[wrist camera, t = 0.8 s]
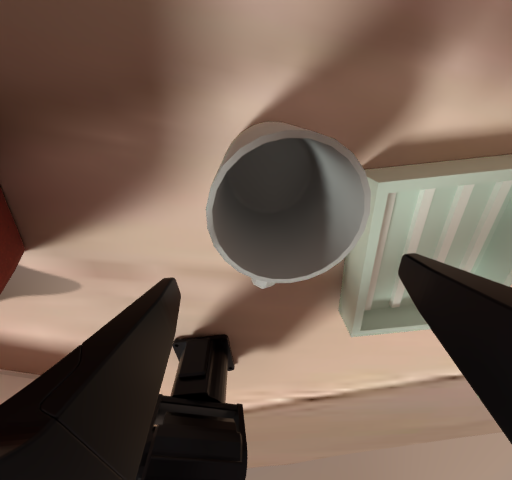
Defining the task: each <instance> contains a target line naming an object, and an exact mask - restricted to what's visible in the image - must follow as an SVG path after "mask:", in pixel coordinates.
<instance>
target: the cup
mask: <svg viewBox="0 0 512 480" xmlns="http://www.w3.org/2000/svg"><path fill="white" fill-rule="evenodd" d="M370 201H371V190H370V187H369V183H368V180H367V176H366V172H365V170H364V169H363V167H362V166H361V164H360V163H359V161H358V160H357V158H356V157H355V155H354V154H353V153H352V152H351V151H350V150H349V149H347V148H346V147H345V146H343V145H342V144H341V143H339V142H338V141H337V140H336V139H333V138H331V137H328V136H325V135H322V134H320V133H317V132H314V131H311V130H308V129H304V128H301V127H297V126H294V125H290V124H287V123H283V122H270V121H267V122H263V123H259V124H255V125H253V126H251V127H249V128H248V129H246V130H244V131H243V132H241V133H240V134H239V135H238V136H237V137H236V138H235V139H234V140H233V141H232V143H231V144H230V146H229V148H228V150H227V152H226V154H225V156H224V158H223V160H222V163H221V165H220V167H219V169H218V172H217V174H216V176H215V178H214V181H213V183H212V185H211V188H210V192H209V197H208V201H207V206H206V216H207V229H208V231H209V234H210V237H211V239H212V242H213V245H214V247H215V248H216V249H217V251H218V252H219V253H220V255H221V256H222V258H223V259H224V260H225V261H226V262H227V263H228V264H230V265H231V266H232V267H233V268H234V269H236V270H237V271H238V272H240V273H242V274H244V275H247V276H249V277H251V279H252V282H253V284H254V285H255V286H257V287H259V288H261V289H264V288H267V287H270V286H273V285H275V283H293V282H298V281H303V280H307V279H310V278H312V277H315V276H317V275H320V274H322V273H324V272H326V271H328V270H329V269H331V268H332V267H333V266H335V265H336V264H338V263H339V262H341V261H342V260H343V259H344V258H345V257H346V256H347V255H348V253H349V252H350V251H351V250H352V249H353V248H354V247H355V245H356V244H357V242H358V240H359V239H360V237H361V235H362V234H363V232H364V230H365V227H366V224H367V220H368V217H369V214H370Z"/></svg>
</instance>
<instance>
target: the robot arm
mask: <svg viewBox="0 0 512 480" xmlns="http://www.w3.org/2000/svg"><path fill="white" fill-rule="evenodd" d="M398 275H399V278H400V280H401V281H402V283H403V285H404V287H405V288H406V290H407V292H408V294H409V296H410V297H411V299H412V301H413V303H414V305H415V306H416V308H417V310H418V311H419V313H420V314H421V316H422V317H423V319H424V320H425V321H426V323H427V324H428V326H429V327H430V328H431V330H432V331H433V333H434V334H435V336H436V337H437V338H438V340H439V341H440V343H441V344H442V346H443V347H444V348H445V350H446V351H447V353H448V354H449V356H450V357H451V358H452V360H453V361H454V363H455V364H456V366H457V367H458V368H459V370H460V371H461V373H462V374H463V375H464V377H465V378H466V380H467V381H468V383H469V384H470V385H471V387H472V388H473V390H474V391H475V393H476V394H477V395H478V397H479V398H480V400H481V401H482V403H483V404H484V405H485V407H486V408H487V410H488V411H489V413H490V414H491V415H492V417H493V418H494V420H495V421H496V423H497V424H498V425H499V427H500V428H501V430H502V431H503V432H504V434H505V435H506V437H507V438H508V440H509V441H510V442H511V444H512V287H509V286H506V285H503V284H500V283H498V282H495V281H492V280H489V279H486V278H484V277H481V276H478V275H475V274H473V273H470V272H467V271H464V270H461V269H459V268H456V267H453V266H450V265H447V264H445V263H442V262H439V261H436V260H433V259H431V258H428V257H425V256H422V255H419V254H417V253H409V254H404V255H403V256H402V258H401V262H400V266H399V269H398ZM180 300H181V294H180V291H179V288H178V285H177V282H176V280H175V278H173V277H172V278H164V279H162V280H161V281H160V282H158V283H157V284H156V285H155V286H153V287H152V288H151V289H150V290H148V291H147V292H146V293H145V294H143V295H142V296H141V297H140V298H138V299H137V300H136V301H135V302H133V303H132V304H131V305H130V306H128V307H127V308H126V309H125V310H123V311H122V312H121V313H120V314H118V315H117V316H116V317H115V318H113V319H112V320H111V321H110V322H108V323H107V324H106V325H105V326H103V327H102V328H101V329H100V330H98V331H97V332H96V333H95V334H93V335H92V336H91V337H90V338H88V339H87V340H86V341H85V342H83V343H82V345H79V346H78V347H77V348H76V349H74V350H73V351H72V352H71V353H69V354H68V355H67V356H66V357H64V358H63V359H62V360H60V361H59V362H58V363H57V364H55V365H54V366H53V367H51V368H50V369H49V370H47V371H46V372H45V373H43V374H42V375H41V376H39V377H38V378H37V379H35V380H34V381H33V382H31V383H30V384H28V385H27V386H26V387H24V388H23V389H21V390H20V391H19V392H17V393H16V394H15V395H13V396H12V397H10V398H9V399H8V400H6V401H5V402H3V403H2V404H1V405H0V480H245V478H246V470H247V442H246V433H245V424H244V415H243V406H242V404H237V405H236V404H228V403H225V400H226V385H227V371H231V370H234V361H233V357H232V352H231V348H230V344H229V340H228V337H227V336H226V335H219V336H209V337H199V338H189V339H179V340H174V336H175V332H176V326H177V319H178V313H179V306H180ZM173 340H174V341H173ZM172 346H173V348H174V351H175V353H176V355H177V357H178V360H179V365H178V369H177V373H176V377H175V381H174V385H173V389H172V392H171V396H163V394H159V392H160V388H161V384H162V381H163V377H164V373H165V370H166V366H167V362H168V359H169V355H170V351H171V348H172ZM155 424H156V425H158V426H157V427H154V425H155Z"/></svg>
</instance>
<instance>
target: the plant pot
mask: <svg viewBox="0 0 512 480" xmlns="http://www.w3.org/2000/svg"><path fill="white" fill-rule="evenodd" d="M24 250H25V249H24V245H23V243H22V240H21V237H20V235H19V232H18V230H17V227H16V225H15V222H14V220H13V217H12V215H11V213H10V210H9V208H8V205H7V203H6V200H5V198H4V195H3V193H2V190H1V188H0V294H1V292H2V291H3V289H4V288H5V286H6V284H7V282H8V281H9V279H10V278H11V276H12V274H13V273H14V271H15V269H16V267H17V265H18V263H19V261H20V259H21V257H22V255H23V253H24Z"/></svg>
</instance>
